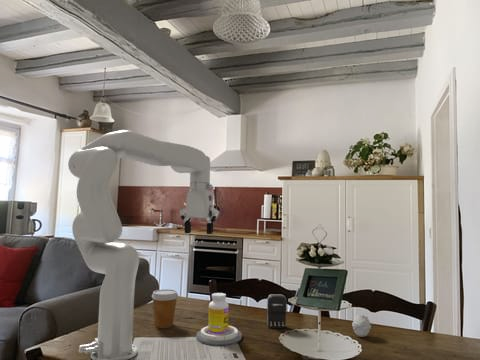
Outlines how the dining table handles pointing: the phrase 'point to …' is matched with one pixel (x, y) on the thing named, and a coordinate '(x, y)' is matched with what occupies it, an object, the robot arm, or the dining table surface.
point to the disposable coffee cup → (164, 307)
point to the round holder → (219, 337)
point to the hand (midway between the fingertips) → (198, 233)
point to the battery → (276, 311)
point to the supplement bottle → (218, 315)
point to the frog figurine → (361, 325)
